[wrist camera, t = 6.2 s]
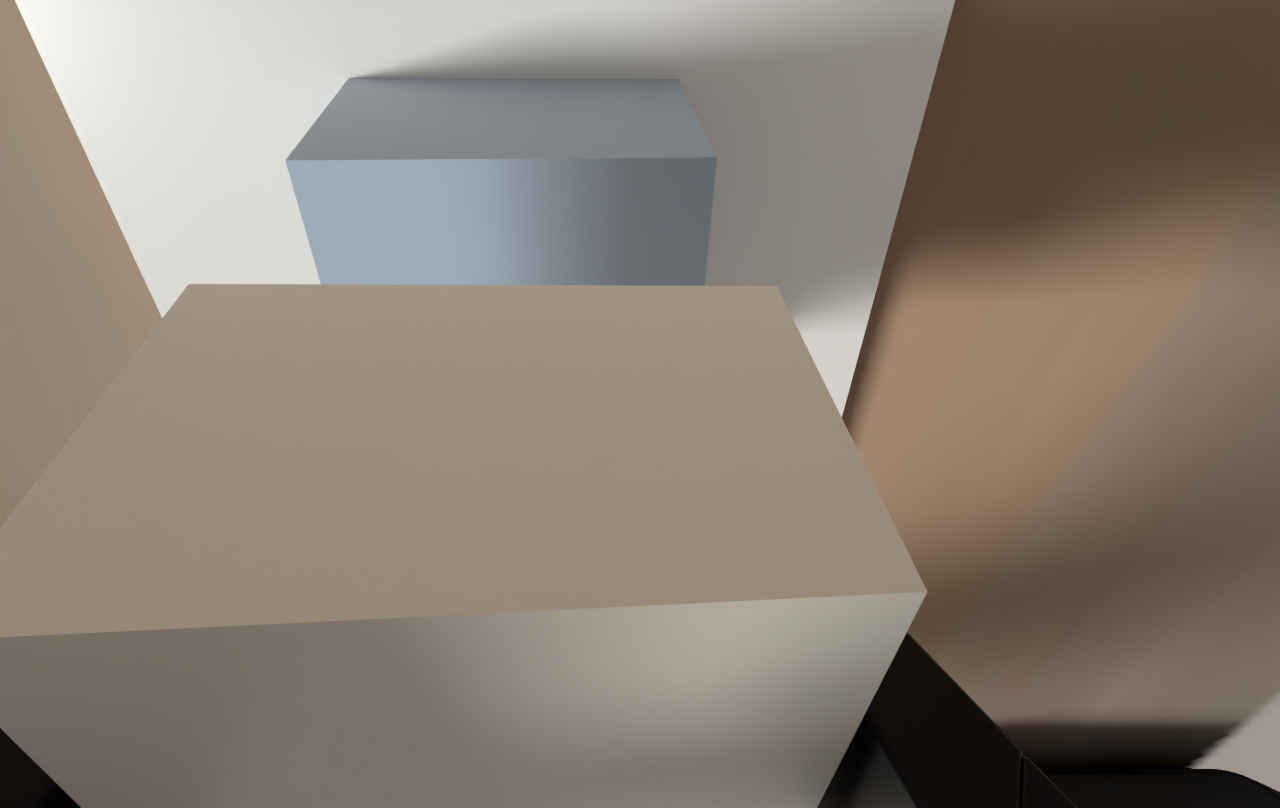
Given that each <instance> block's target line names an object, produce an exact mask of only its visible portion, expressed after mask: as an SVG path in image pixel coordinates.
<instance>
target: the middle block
mask: <svg viewBox="0 0 1280 808" xmlns="http://www.w3.org/2000/svg"><path fill="white" fill-rule="evenodd" d="M926 594H927V590H926V588H925V586H924V584H923V582H922V580H921V578H920V576H919V574H918V572H917V570H916V568H915V566H914V564H913V562H912V560H911V558H910V556H909V553H908V551H907V549H906V547H905V545H904V543H903V541H902V539H901V537H900V535H899V533H898V531H897V529H896V527H895V525H894V523H893V521H892V519H891V517H890V515H889V513H888V511H887V509H886V507H885V505H884V503H883V501H882V499H881V497H880V495H879V493H878V491H877V488H876V486H875V484H874V482H873V480H872V478H871V476H870V474H869V472H868V470H867V468H866V466H865V464H864V462H863V460H862V458H861V456H860V454H859V452H858V450H857V448H856V446H855V444H854V442H853V440H852V438H851V436H850V434H849V432H848V430H847V428H846V426H845V423H844V421H843V419H842V417H841V415H840V413H839V411H838V409H837V407H836V405H835V403H834V401H833V399H832V397H831V395H830V393H829V391H828V389H827V387H826V385H825V383H824V381H823V379H822V377H821V375H820V373H819V371H818V369H817V367H816V365H815V363H814V361H813V358H812V356H811V354H810V352H809V350H808V348H807V346H806V344H805V342H804V340H803V338H802V336H801V334H800V332H799V330H798V328H797V326H796V324H795V322H794V320H793V318H792V316H791V314H790V312H789V310H788V308H787V306H786V304H785V302H784V300H783V298H782V296H781V293H780V291H779V289H778V287H777V286H634V285H337V284H188V286H187V287H186V288H185V290H184V291H183V292H182V293H181V295H180V296H179V297H178V299H177V300H176V301H175V303H174V304H173V305H172V306H171V308H170V309H169V310H168V312H167V313H166V314H165V315H164V317H163V318H162V319H161V321H160V322H159V323H158V325H157V326H156V327H155V328H154V330H153V331H152V332H151V334H150V335H149V336H148V337H147V339H146V340H145V341H144V343H143V344H142V345H141V347H140V348H139V349H138V350H137V352H136V353H135V354H134V356H133V357H132V358H131V359H130V361H129V362H128V363H127V365H126V366H125V367H124V369H123V370H122V371H121V372H120V374H119V375H118V376H117V378H116V379H115V380H114V381H113V383H112V384H111V385H110V387H109V388H108V389H107V391H106V392H105V393H104V394H103V396H102V397H101V398H100V400H99V401H98V402H97V403H96V405H95V406H94V407H93V409H92V410H91V411H90V413H89V414H88V415H87V416H86V418H85V419H84V420H83V422H82V423H81V424H80V425H79V427H78V428H77V429H76V431H75V432H74V433H73V435H72V436H71V437H70V438H69V440H68V441H67V442H66V444H65V445H64V446H63V447H62V449H61V450H60V451H59V453H58V454H57V455H56V457H55V458H54V459H53V460H52V462H51V463H50V464H49V466H48V467H47V468H46V469H45V471H44V472H43V473H42V475H41V476H40V477H39V479H38V480H37V481H36V482H35V484H34V485H33V486H32V488H31V489H30V490H29V491H28V493H27V494H26V495H25V497H24V498H23V499H22V501H21V502H20V503H19V504H18V506H17V507H16V508H15V510H14V511H13V512H12V513H11V515H10V516H9V517H8V519H7V520H6V521H5V523H4V524H3V525H2V526H1V528H0V728H1V729H2V730H3V731H4V732H5V733H6V734H7V735H8V736H9V737H10V738H11V739H12V740H13V741H14V742H15V743H16V744H17V745H18V746H19V747H20V748H21V749H22V750H23V751H24V752H25V753H26V754H27V755H28V756H29V757H30V758H31V759H32V760H33V761H34V762H35V763H36V764H37V765H38V766H39V767H40V768H41V769H42V770H43V771H44V772H46V773H47V774H48V775H49V776H50V777H51V778H52V779H53V780H54V781H55V782H56V783H57V784H58V785H59V786H60V787H61V788H62V789H63V790H64V791H65V792H66V793H67V794H68V795H69V796H70V797H71V798H72V799H73V800H74V801H75V802H76V803H77V804H78V805H79V806H80V807H81V808H817V807H818V805H819V803H820V801H821V799H822V797H823V795H824V793H825V791H826V789H827V787H828V785H829V784H830V782H831V780H832V778H833V776H834V774H835V772H836V770H837V768H838V766H839V764H840V762H841V760H842V758H843V756H844V754H845V752H846V750H847V748H848V746H849V744H850V742H851V740H852V739H853V737H854V735H855V733H856V731H857V729H858V727H859V725H860V723H861V721H862V719H863V717H864V715H865V713H866V711H867V709H868V707H869V705H870V703H871V701H872V699H873V697H874V696H875V694H876V692H877V690H878V688H879V686H880V684H881V682H882V680H883V678H884V676H885V674H886V672H887V670H888V668H889V666H890V664H891V662H892V660H893V658H894V656H895V654H896V652H897V651H898V649H899V647H900V645H901V643H902V641H903V639H904V637H905V635H906V633H907V631H908V629H909V627H910V625H911V623H912V621H913V619H914V617H915V615H916V613H917V611H918V609H919V608H920V606H921V604H922V602H923V600H924V598H925V596H926Z"/></svg>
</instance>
